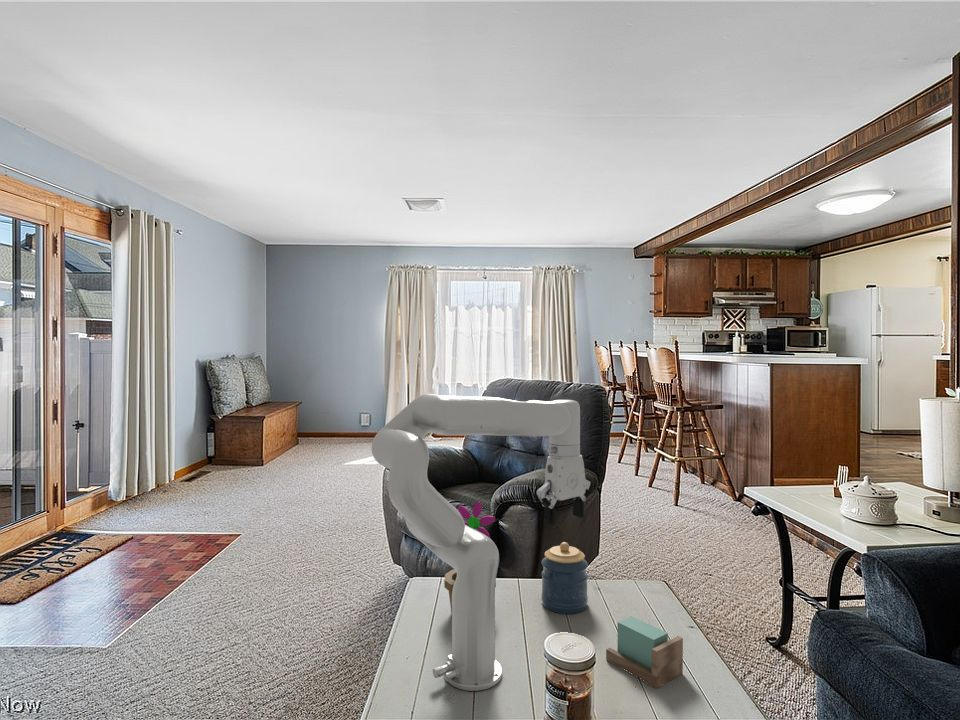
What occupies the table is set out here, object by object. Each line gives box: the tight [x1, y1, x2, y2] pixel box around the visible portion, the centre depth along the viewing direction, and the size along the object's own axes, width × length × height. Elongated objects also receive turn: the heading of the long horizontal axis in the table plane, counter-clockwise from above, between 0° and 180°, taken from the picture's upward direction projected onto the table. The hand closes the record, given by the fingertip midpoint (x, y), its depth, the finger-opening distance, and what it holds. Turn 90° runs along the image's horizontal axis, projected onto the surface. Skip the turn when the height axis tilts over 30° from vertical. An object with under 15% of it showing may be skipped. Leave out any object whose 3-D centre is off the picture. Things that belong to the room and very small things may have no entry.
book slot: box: [605, 635, 684, 689], centre depth 127 cm, size 9×14×8 cm
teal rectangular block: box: [617, 615, 669, 671], centre depth 127 cm, size 5×10×9 cm, turn 37°
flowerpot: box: [443, 500, 497, 614], centre depth 153 cm, size 14×14×30 cm
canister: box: [541, 541, 589, 615], centre depth 159 cm, size 13×13×18 cm
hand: (564, 520), depth 137 cm, fingers open, 9 cm apart
